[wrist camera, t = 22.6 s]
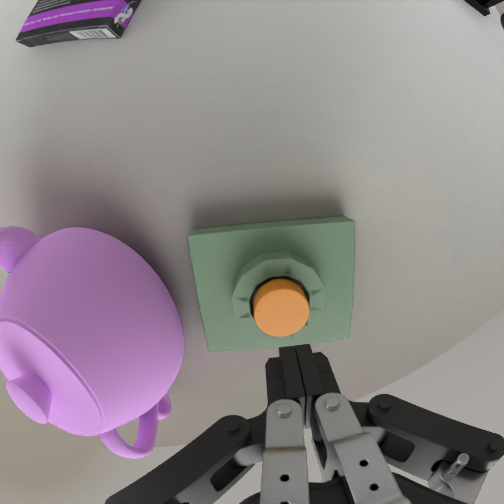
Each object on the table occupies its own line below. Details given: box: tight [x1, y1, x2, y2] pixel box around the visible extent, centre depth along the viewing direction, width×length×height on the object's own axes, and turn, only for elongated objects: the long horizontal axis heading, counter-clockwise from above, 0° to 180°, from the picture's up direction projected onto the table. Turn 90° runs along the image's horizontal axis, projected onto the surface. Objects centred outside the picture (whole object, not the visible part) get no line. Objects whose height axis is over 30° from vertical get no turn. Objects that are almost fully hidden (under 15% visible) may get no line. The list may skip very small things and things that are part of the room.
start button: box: [253, 278, 310, 337], centre depth 18 cm, size 4×4×2 cm
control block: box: [187, 216, 355, 352], centre depth 20 cm, size 12×10×4 cm
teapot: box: [0, 226, 185, 458], centre depth 16 cm, size 25×18×14 cm
